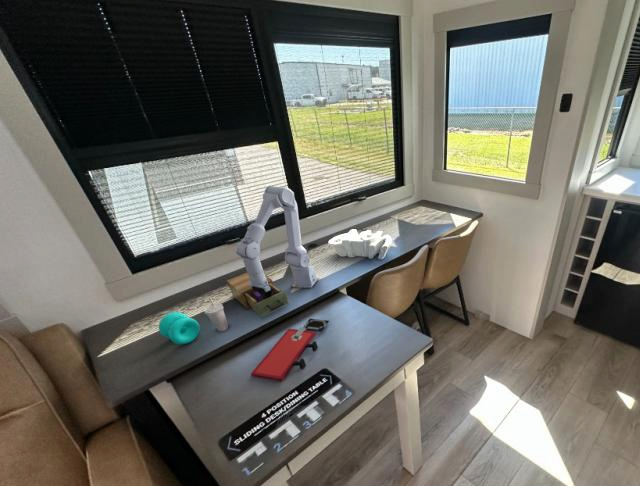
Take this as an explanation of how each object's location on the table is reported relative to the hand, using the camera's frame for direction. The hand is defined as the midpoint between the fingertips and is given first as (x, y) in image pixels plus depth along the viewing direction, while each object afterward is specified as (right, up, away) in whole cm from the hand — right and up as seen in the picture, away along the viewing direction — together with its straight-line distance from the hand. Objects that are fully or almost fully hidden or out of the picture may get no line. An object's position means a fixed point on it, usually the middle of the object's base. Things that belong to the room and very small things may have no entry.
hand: (265, 299), depth 131 cm
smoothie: (-13, -11, -9) cm, 19 cm away
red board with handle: (+20, -17, -21) cm, 33 cm away
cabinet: (-9, +2, +10) cm, 13 cm away
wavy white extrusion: (+36, +25, +39) cm, 59 cm away
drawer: (+2, -3, 0) cm, 3 cm away
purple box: (0, -1, +1) cm, 1 cm away
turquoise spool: (-25, -15, -13) cm, 31 cm away
